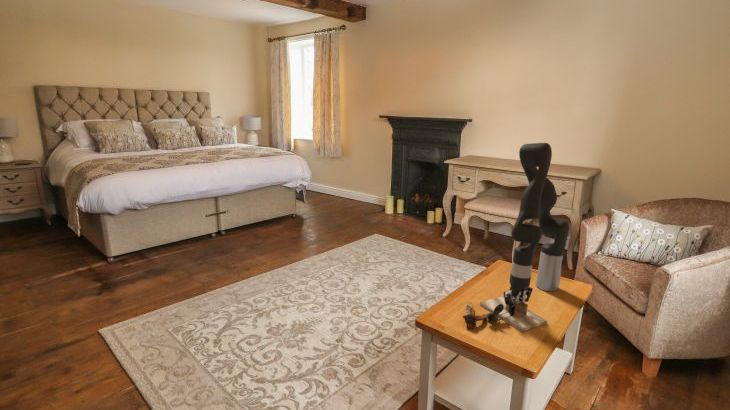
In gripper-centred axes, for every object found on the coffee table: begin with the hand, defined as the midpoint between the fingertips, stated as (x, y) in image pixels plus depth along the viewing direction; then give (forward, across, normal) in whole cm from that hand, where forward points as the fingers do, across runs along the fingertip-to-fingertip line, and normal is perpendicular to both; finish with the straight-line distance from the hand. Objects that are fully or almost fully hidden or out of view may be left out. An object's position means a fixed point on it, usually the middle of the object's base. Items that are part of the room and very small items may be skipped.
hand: (515, 312), depth 158 cm
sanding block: (0, 0, 0) cm, 0 cm away
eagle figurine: (+2, +10, 0) cm, 11 cm away
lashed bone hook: (+2, +17, -5) cm, 18 cm away
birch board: (+1, 0, -2) cm, 2 cm away
